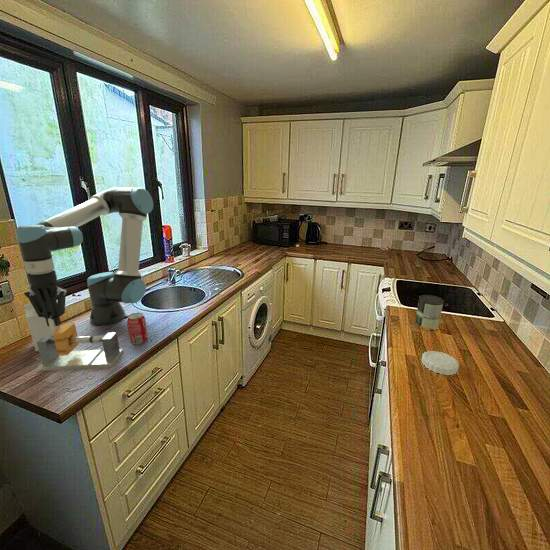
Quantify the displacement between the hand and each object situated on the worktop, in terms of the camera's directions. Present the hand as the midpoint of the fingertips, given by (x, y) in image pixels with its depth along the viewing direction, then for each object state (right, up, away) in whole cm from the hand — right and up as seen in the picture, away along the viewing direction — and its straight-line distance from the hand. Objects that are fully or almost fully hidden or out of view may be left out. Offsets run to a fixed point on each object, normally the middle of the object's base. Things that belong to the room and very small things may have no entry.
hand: (56, 333), depth 103 cm
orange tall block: (+3, -6, +2) cm, 7 cm away
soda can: (+22, -7, +18) cm, 29 cm away
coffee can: (+153, -3, +34) cm, 156 cm away
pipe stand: (+7, -11, +4) cm, 14 cm away
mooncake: (+141, -13, +3) cm, 141 cm away
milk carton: (-15, -8, +15) cm, 23 cm away
